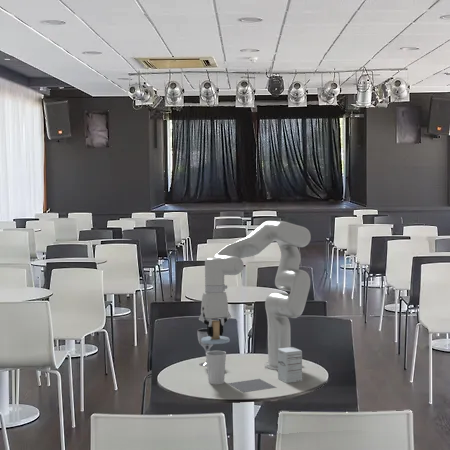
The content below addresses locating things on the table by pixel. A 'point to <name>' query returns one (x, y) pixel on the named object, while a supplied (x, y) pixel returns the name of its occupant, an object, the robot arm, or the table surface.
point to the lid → (215, 335)
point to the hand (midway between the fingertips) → (215, 335)
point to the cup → (216, 366)
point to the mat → (251, 385)
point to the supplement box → (289, 364)
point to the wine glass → (207, 347)
